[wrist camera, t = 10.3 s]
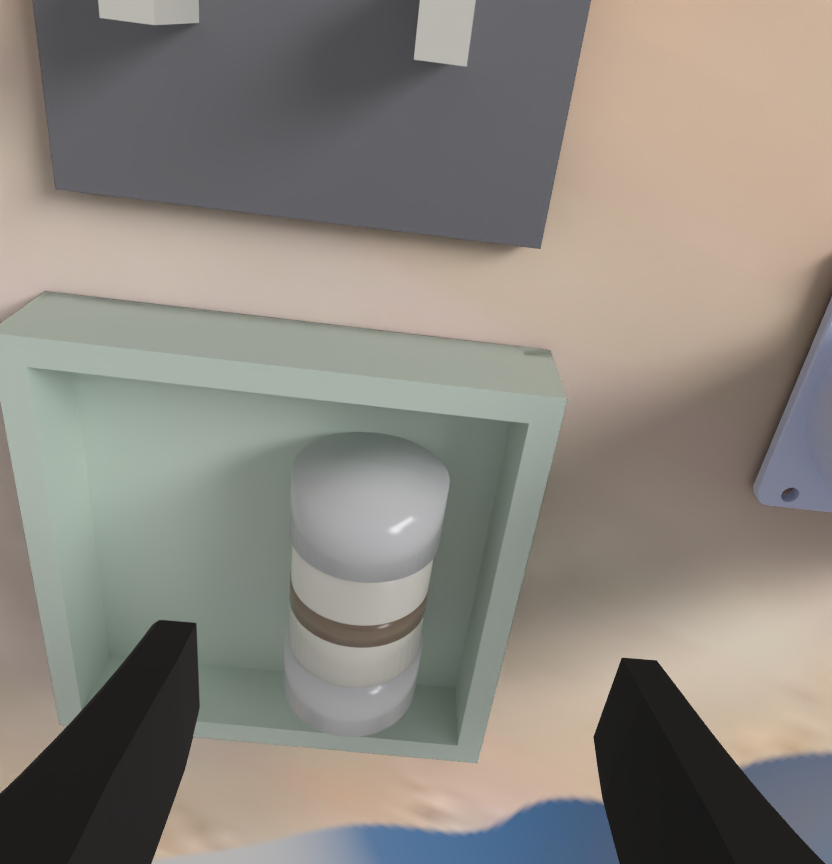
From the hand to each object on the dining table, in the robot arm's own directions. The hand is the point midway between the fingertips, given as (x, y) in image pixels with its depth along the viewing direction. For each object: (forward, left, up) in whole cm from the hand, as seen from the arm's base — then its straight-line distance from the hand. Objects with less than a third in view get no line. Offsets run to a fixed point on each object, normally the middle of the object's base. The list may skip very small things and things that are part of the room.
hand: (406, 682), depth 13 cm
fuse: (+3, +5, -9) cm, 10 cm away
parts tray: (+3, +5, -10) cm, 12 cm away
